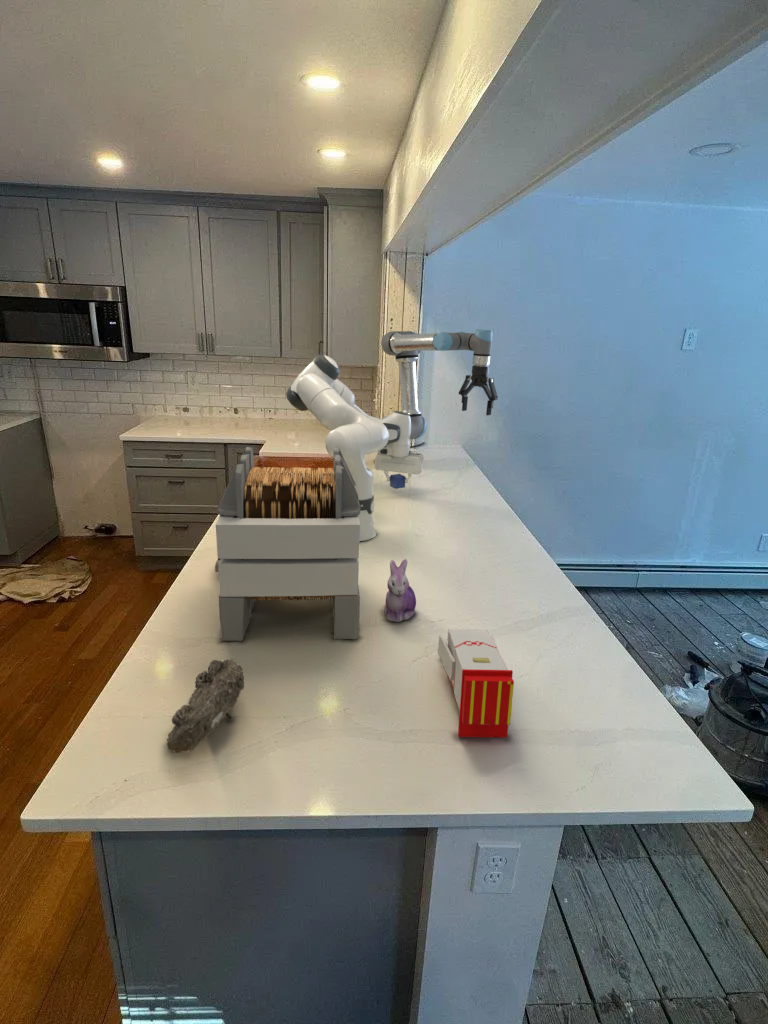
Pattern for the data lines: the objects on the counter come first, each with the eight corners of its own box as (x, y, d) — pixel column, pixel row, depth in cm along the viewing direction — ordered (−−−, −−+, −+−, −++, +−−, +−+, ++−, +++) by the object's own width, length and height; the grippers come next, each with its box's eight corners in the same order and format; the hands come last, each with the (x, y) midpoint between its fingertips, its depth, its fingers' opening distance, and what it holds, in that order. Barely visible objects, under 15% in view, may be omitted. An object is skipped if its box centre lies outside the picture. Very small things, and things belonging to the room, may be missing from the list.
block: (395, 488, 240) (396, 477, 238) (389, 486, 244) (390, 474, 242) (405, 487, 242) (405, 476, 241) (398, 484, 246) (399, 473, 244)
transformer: (238, 577, 163) (231, 438, 149) (351, 576, 167) (355, 440, 153) (218, 643, 131) (207, 474, 117) (359, 640, 135) (365, 475, 121)
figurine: (392, 627, 141) (395, 572, 136) (374, 608, 149) (376, 556, 144) (425, 619, 145) (429, 566, 140) (405, 601, 154) (408, 550, 149)
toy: (488, 613, 130) (523, 677, 101) (484, 667, 133) (517, 744, 104) (435, 612, 130) (455, 676, 101) (432, 666, 133) (451, 743, 103)
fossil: (192, 660, 117) (244, 628, 112) (224, 691, 120) (276, 661, 115) (142, 746, 98) (202, 712, 93) (182, 779, 101) (242, 748, 96)
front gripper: (425, 450, 238) (422, 482, 243) (377, 446, 242) (376, 477, 247) (422, 454, 232) (420, 486, 237) (374, 449, 237) (372, 481, 241)
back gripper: (509, 368, 249) (503, 416, 256) (463, 362, 265) (459, 408, 272) (499, 368, 244) (494, 417, 251) (453, 363, 260) (449, 409, 267)
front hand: (397, 481), depth 242 cm, fingers closed on block, 6 cm apart
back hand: (476, 412), depth 261 cm, fingers open, 13 cm apart
